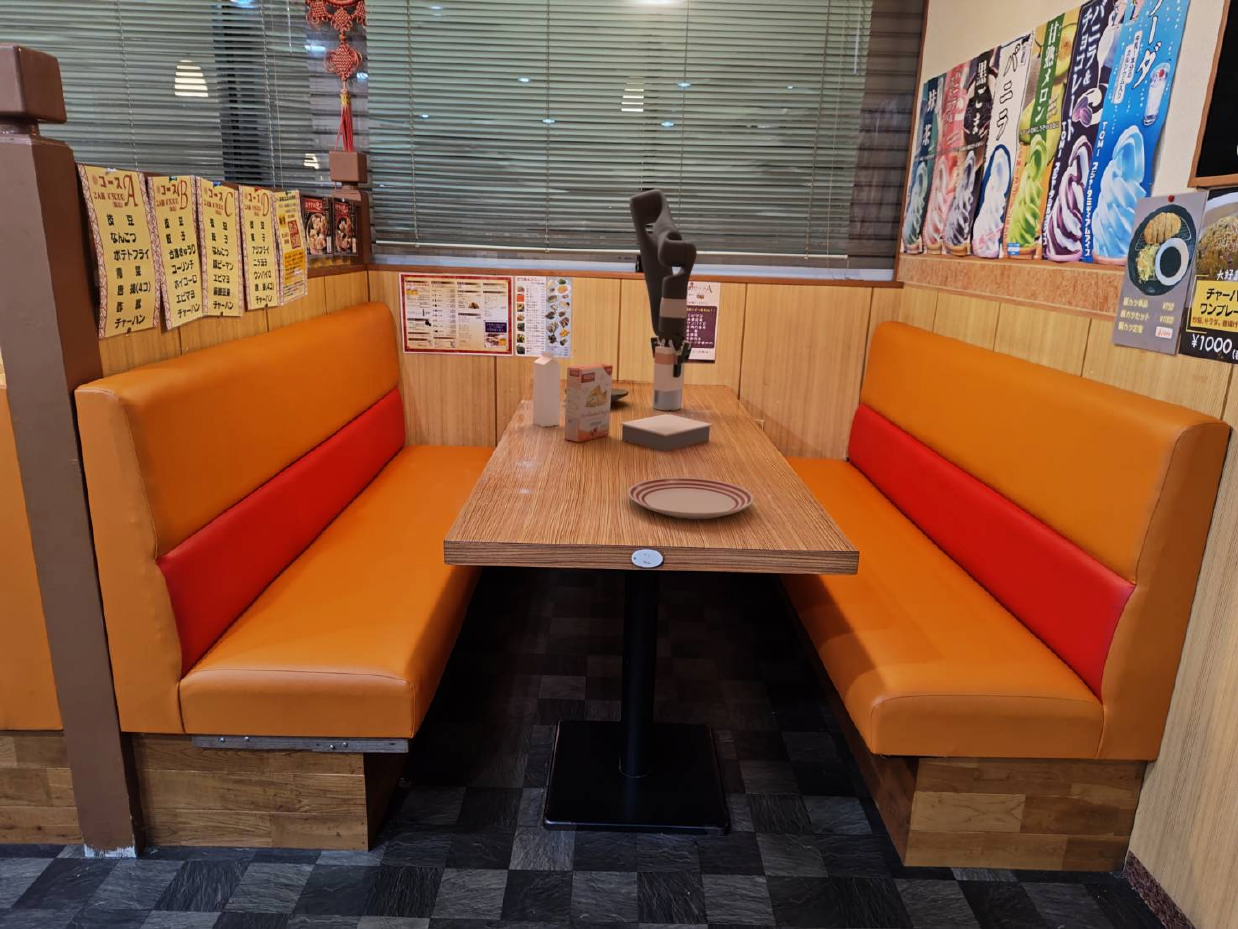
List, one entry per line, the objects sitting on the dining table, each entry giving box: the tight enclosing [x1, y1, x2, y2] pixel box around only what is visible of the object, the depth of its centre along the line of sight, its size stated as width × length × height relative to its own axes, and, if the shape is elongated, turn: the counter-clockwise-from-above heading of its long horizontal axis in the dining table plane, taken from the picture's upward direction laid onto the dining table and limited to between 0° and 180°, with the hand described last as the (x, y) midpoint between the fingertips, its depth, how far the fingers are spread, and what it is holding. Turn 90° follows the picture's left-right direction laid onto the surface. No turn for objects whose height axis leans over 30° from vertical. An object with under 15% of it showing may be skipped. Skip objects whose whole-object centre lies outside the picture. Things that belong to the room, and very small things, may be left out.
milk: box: [532, 350, 562, 428], centre depth 248 cm, size 6×6×22 cm
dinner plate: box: [627, 476, 755, 520], centre depth 180 cm, size 27×27×3 cm
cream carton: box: [652, 345, 686, 392], centre depth 232 cm, size 5×8×12 cm, turn 137°
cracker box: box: [563, 362, 614, 443], centre depth 233 cm, size 14×6×21 cm, turn 143°
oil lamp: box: [564, 387, 630, 403], centre depth 287 cm, size 22×30×8 cm
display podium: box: [619, 413, 713, 452], centre depth 236 cm, size 21×17×5 cm
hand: (669, 375), depth 232 cm, fingers closed on cream carton, 4 cm apart
